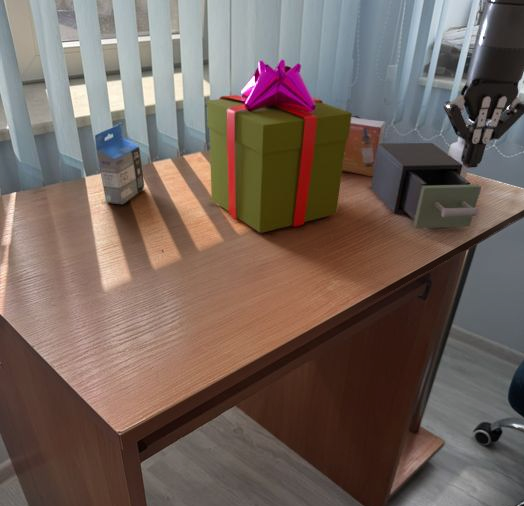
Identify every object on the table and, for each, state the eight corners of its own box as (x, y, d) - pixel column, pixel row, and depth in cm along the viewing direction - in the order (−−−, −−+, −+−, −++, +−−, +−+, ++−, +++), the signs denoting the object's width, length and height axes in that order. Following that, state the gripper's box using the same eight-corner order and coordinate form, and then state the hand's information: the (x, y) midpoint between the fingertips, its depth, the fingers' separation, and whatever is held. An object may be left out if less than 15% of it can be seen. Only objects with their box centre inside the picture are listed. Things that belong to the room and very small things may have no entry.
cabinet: (450, 211, 101) (462, 164, 96) (393, 213, 99) (403, 165, 94) (422, 186, 112) (432, 142, 106) (370, 187, 110) (378, 143, 104)
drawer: (482, 237, 90) (495, 197, 86) (426, 240, 88) (436, 198, 84) (440, 200, 103) (449, 163, 99) (390, 201, 102) (397, 163, 97)
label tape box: (122, 205, 98) (113, 137, 90) (103, 202, 98) (93, 134, 91) (145, 189, 104) (138, 125, 97) (127, 186, 105) (119, 122, 98)
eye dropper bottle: (461, 179, 116) (476, 122, 109) (464, 187, 112) (480, 129, 105) (441, 177, 117) (455, 120, 110) (443, 185, 112) (458, 127, 105)
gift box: (271, 182, 110) (277, 47, 95) (349, 213, 99) (370, 65, 83) (195, 206, 98) (188, 57, 83) (273, 244, 87) (282, 79, 72)
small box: (337, 171, 117) (344, 121, 111) (344, 163, 122) (350, 116, 115) (372, 176, 115) (381, 126, 109) (377, 169, 120) (386, 120, 113)
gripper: (472, 45, 69) (440, 175, 80) (562, 46, 71) (519, 173, 81) (447, 37, 75) (421, 159, 85) (531, 38, 77) (495, 157, 87)
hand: (469, 165), depth 83 cm, fingers closed
